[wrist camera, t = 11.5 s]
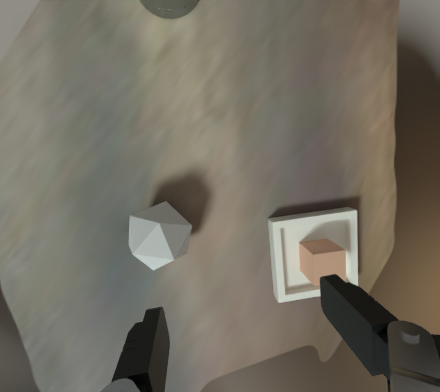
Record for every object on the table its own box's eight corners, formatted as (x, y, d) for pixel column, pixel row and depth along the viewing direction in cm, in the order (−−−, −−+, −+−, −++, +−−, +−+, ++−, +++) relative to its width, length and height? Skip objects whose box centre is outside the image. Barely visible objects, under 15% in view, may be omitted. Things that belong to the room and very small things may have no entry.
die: (129, 245, 40) (150, 294, 33) (110, 204, 34) (132, 253, 27) (177, 223, 43) (205, 264, 36) (167, 182, 37) (199, 222, 30)
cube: (298, 242, 40) (313, 254, 36) (327, 238, 41) (345, 250, 36) (300, 270, 41) (314, 286, 36) (328, 266, 42) (345, 281, 37)
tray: (267, 218, 40) (272, 222, 38) (347, 206, 42) (356, 210, 39) (274, 294, 43) (278, 302, 41) (349, 281, 44) (358, 289, 42)
